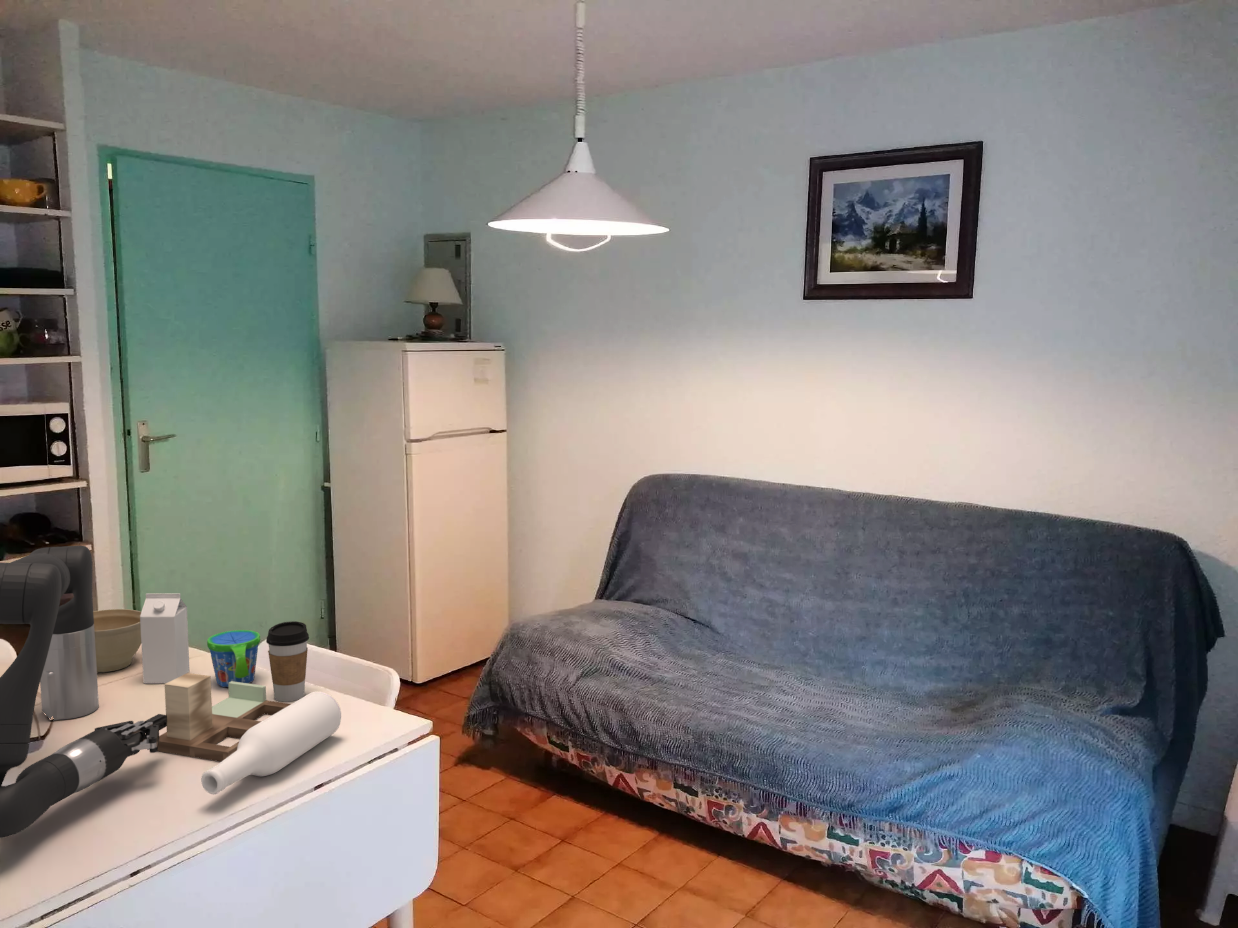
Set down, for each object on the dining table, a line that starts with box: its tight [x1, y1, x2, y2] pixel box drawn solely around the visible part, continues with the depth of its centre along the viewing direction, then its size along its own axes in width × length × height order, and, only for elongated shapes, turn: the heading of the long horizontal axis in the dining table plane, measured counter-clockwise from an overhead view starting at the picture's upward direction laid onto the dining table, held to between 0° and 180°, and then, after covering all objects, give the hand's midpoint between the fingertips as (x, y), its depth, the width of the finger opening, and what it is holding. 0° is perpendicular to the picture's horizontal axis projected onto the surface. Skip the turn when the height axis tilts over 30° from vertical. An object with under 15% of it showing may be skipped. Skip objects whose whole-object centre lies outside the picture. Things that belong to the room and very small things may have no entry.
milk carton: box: [140, 592, 190, 684], centre depth 203 cm, size 7×7×19 cm
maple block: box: [164, 672, 213, 740], centre depth 172 cm, size 6×5×10 cm
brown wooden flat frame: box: [157, 699, 292, 763], centre depth 178 cm, size 22×16×2 cm
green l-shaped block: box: [212, 681, 267, 718], centre depth 185 cm, size 9×8×5 cm
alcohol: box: [200, 691, 342, 795], centre depth 163 cm, size 9×9×30 cm
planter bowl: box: [93, 608, 142, 674], centre depth 210 cm, size 16×16×11 cm
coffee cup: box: [265, 620, 310, 703], centre depth 194 cm, size 8×8×15 cm
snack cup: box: [206, 629, 261, 688], centre depth 202 cm, size 16×10×10 cm
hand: (163, 719), depth 166 cm, fingers closed
